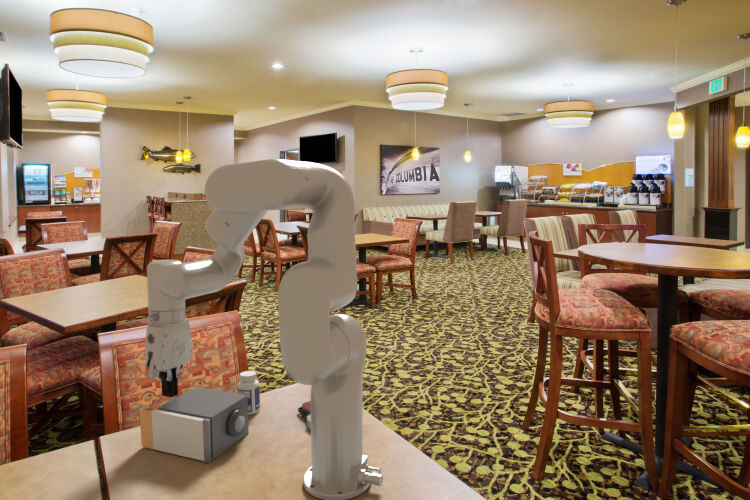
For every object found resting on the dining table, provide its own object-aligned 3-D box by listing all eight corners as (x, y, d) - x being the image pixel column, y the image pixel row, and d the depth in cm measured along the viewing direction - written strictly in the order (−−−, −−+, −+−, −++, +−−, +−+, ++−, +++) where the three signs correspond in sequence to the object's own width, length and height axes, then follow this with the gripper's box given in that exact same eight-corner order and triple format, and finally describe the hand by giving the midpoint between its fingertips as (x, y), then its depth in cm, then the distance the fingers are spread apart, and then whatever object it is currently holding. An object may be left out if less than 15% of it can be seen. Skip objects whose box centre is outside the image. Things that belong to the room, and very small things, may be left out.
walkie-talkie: (290, 416, 120) (333, 449, 104) (289, 399, 119) (332, 429, 103) (321, 407, 125) (366, 437, 109) (320, 390, 125) (366, 418, 109)
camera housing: (254, 434, 110) (253, 396, 109) (219, 461, 99) (218, 418, 98) (198, 423, 116) (197, 386, 115) (159, 447, 104) (157, 407, 103)
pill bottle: (253, 404, 126) (252, 368, 125) (264, 411, 122) (263, 373, 121) (234, 410, 122) (232, 373, 121) (244, 417, 119) (243, 379, 118)
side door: (213, 459, 99) (211, 419, 98) (208, 463, 98) (206, 422, 97) (146, 444, 105) (144, 406, 104) (141, 447, 104) (138, 408, 103)
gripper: (154, 325, 100) (157, 411, 102) (204, 310, 113) (206, 386, 116) (126, 322, 102) (130, 405, 104) (178, 307, 116) (181, 381, 118)
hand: (170, 395), depth 110 cm, fingers closed
